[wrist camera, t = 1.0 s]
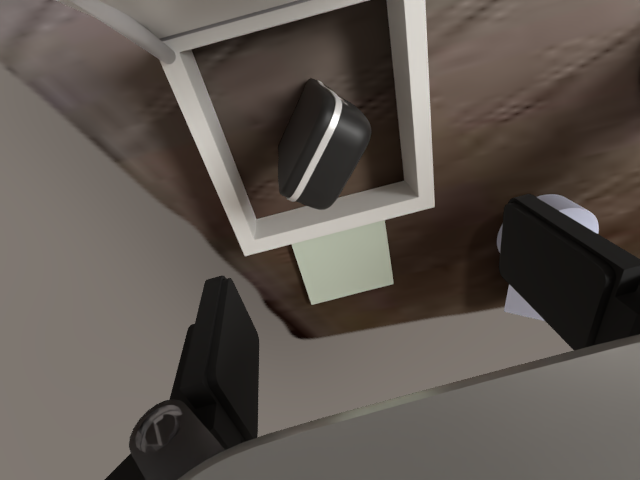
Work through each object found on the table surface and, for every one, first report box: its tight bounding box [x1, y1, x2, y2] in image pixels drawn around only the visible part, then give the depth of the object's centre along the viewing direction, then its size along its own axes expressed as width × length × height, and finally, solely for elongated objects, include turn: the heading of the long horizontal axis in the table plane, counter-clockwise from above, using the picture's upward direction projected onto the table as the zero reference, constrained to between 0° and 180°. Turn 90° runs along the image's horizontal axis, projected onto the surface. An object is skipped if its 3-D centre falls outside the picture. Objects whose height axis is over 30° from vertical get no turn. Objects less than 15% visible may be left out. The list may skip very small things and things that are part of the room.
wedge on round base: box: [497, 194, 599, 321], centre depth 37 cm, size 9×7×13 cm
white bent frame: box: [55, 0, 435, 256], centre depth 20 cm, size 18×21×20 cm
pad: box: [291, 220, 394, 305], centre depth 37 cm, size 10×10×1 cm
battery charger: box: [278, 79, 371, 210], centre depth 25 cm, size 7×4×11 cm, turn 153°
